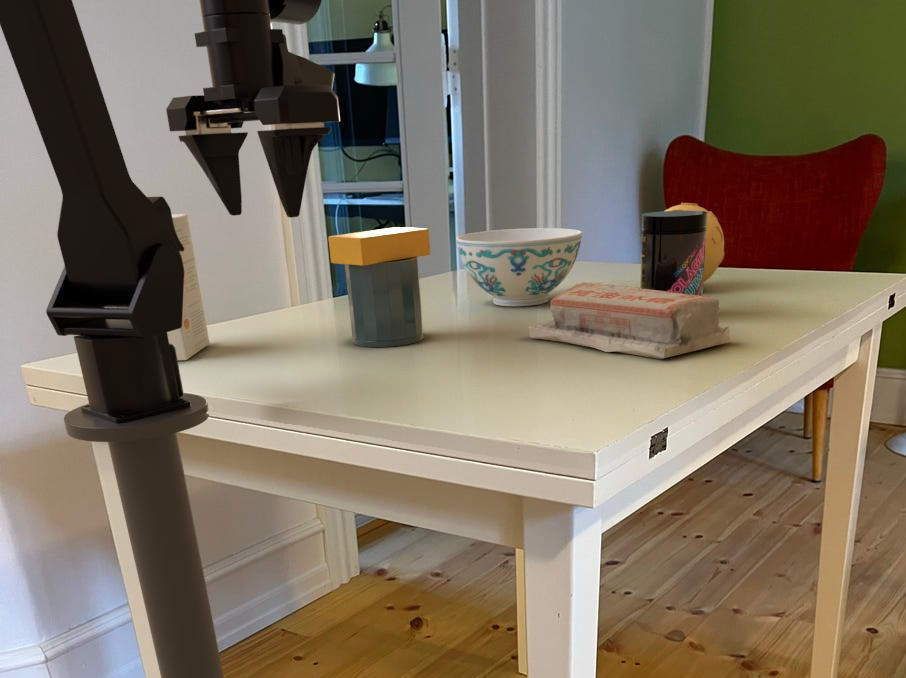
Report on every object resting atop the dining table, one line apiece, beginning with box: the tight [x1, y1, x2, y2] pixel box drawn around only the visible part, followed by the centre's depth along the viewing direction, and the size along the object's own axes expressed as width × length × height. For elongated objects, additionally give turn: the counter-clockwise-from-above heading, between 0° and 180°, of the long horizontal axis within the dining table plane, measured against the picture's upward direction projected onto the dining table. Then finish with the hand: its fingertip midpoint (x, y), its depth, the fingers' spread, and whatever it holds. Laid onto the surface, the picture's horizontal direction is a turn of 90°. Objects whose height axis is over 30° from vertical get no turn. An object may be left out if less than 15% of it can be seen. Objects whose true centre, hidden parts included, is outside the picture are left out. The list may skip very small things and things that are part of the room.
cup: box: [344, 257, 424, 348], centre depth 101 cm, size 7×7×8 cm
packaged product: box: [527, 282, 731, 360], centre depth 96 cm, size 18×5×10 cm
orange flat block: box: [327, 226, 431, 266], centre depth 99 cm, size 9×5×2 cm, turn 136°
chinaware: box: [455, 227, 583, 307], centre depth 120 cm, size 15×15×8 cm
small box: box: [167, 213, 211, 362], centre depth 99 cm, size 8×6×13 cm
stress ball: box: [664, 202, 725, 284], centre depth 122 cm, size 10×10×10 cm
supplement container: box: [639, 210, 707, 296], centre depth 105 cm, size 7×7×10 cm
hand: (263, 216), depth 91 cm, fingers open, 9 cm apart
